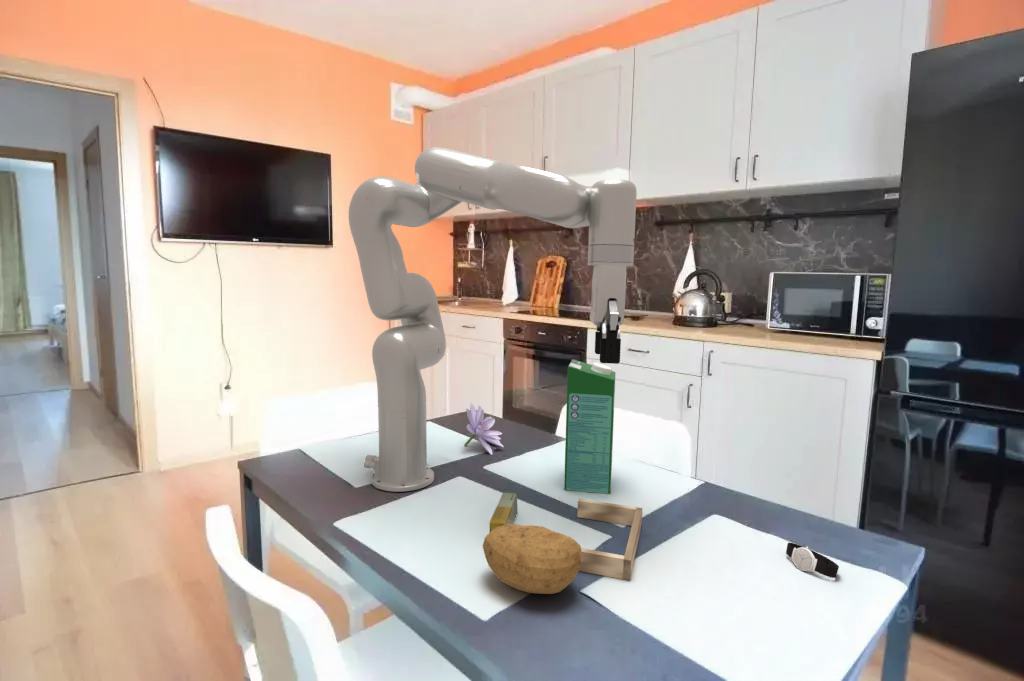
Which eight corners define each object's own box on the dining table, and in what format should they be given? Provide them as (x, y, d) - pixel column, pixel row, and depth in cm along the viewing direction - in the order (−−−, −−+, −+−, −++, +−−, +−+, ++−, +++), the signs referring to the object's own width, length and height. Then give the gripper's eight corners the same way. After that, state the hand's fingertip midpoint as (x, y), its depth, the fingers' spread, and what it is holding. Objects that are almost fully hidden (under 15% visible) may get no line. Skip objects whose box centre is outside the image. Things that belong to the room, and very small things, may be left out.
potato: (501, 557, 82) (501, 506, 80) (590, 581, 75) (592, 527, 74) (467, 590, 73) (468, 534, 72) (565, 621, 67) (567, 560, 66)
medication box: (503, 512, 97) (502, 490, 97) (517, 513, 97) (517, 491, 96) (489, 545, 85) (489, 521, 85) (506, 546, 85) (506, 522, 84)
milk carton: (610, 494, 105) (615, 368, 102) (564, 489, 107) (567, 365, 104) (611, 477, 114) (616, 360, 111) (568, 473, 116) (571, 358, 113)
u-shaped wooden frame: (553, 566, 79) (554, 546, 79) (578, 514, 96) (579, 498, 96) (629, 580, 76) (630, 560, 75) (641, 524, 93) (642, 508, 92)
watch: (777, 558, 83) (779, 536, 82) (798, 552, 85) (800, 530, 84) (824, 585, 76) (826, 561, 75) (846, 578, 78) (848, 554, 77)
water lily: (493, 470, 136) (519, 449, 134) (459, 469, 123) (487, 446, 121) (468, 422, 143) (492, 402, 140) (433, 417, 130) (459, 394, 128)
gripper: (584, 258, 99) (581, 350, 101) (592, 255, 82) (587, 366, 84) (626, 258, 98) (622, 351, 101) (642, 256, 81) (636, 367, 84)
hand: (606, 358), depth 92 cm, fingers open, 9 cm apart
